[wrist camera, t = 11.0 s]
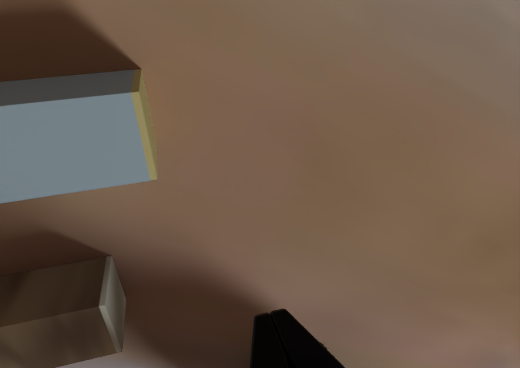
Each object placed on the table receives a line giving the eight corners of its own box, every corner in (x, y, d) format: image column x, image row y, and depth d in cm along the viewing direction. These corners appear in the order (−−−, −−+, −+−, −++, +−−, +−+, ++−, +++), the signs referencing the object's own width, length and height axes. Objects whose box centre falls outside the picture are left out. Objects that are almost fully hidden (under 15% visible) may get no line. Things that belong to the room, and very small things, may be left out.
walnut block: (122, 351, 21) (-64, 395, 19) (126, 299, 24) (-32, 333, 22) (104, 305, 19) (-105, 349, 17) (111, 255, 22) (-64, 288, 20)
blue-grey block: (157, 179, 16) (-87, 216, 14) (156, 144, 19) (-42, 170, 18) (138, 91, 14) (-150, 121, 12) (141, 68, 17) (-85, 89, 16)
